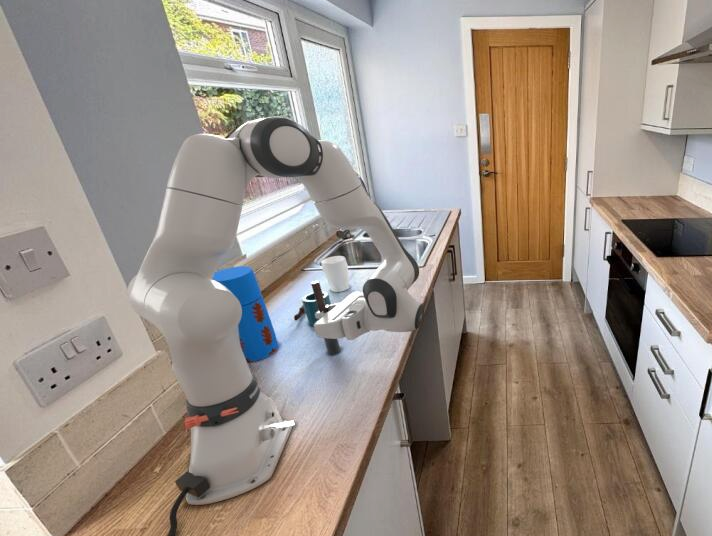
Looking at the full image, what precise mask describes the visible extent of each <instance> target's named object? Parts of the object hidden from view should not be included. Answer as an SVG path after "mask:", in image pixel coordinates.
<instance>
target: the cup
mask: <svg viewBox="0 0 712 536" xmlns="http://www.w3.org/2000/svg"><path fill="white" fill-rule="evenodd" d="M320 264H321V269H322V272H323V274H324V275H323V276H324V277H325V279H326V282H327V283H328V286H329V288H330V290H331V292H332V293H333V292H334V293H339V292H344V291H347V290H348V289H349V288H350V277H349V276H350V275H349V264H348V262H347V258H346V257H345V256H343V255H332V256H328V257H325V258H323V259H322V260H321V261H320Z"/></svg>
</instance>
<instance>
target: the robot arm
mask: <svg viewBox="0 0 712 536" xmlns="http://www.w3.org/2000/svg"><path fill="white" fill-rule="evenodd" d="M254 178H267V179H284V178H295V179H297V180H298V181H299V182H300V183H301V184H302V185H303V186H304V188H306V190H307V191H306V192H307V193H308V195H309V197H310V199H311V201H312V203H313V205H314V207H315V209H316V210H317V213H318V214H319V215H320V217H321V218H322V219H323V221H324V222H325V223H326V224H327V225H329V226H330V227H333V228H335V229H338V230H342V231H352V230H363V231H364V232H365V233H366V234H367V235H368V236H369V238H370V240H371V241H372V243H373V245H374V246H375V247H376V249H377V250H378V252H379V254H380V257H381V260H380V265H379V266H378V267H377V268H376V269H375V271H373V272H372V273H371V274H370V276H369V277H368V278H367V279H366V281H365V282H364V283H363V286H362V291H353V292H351V293H350V294H349V295H348V296H346V297H345V298H344V299H343V300H341V301H339V302H336V303H333V304H331V305H326V309H327V312H328V313H324V312H323V311H317V312H316V313H315V317H316V318H317V319H319V320H318V321H317V322H316V323H315V324H314V326H313V329H314V333H315V335H316V336H317V337H318V338H322V339H324V338H330V339H338V340H339V339H344V338H345V339H346V340H347V341H354V340H356V339H357V338H359V337H361V336H363V335H364V334H367V333H370V332H371V331H372V332H379V331H386V332H390V333H409V332H414V331H415V332H416V331H417V330H418V329H419V328H420V327H421V324H422V323H423V320H424V317H425V305H424V303H422V302H421V301H418V300H416V299H415V298H414V296H412V294H410V293H409V289H410V288H411V287H412V285H414V283H415V282H416V281H417V280H418V278H419V276H420V267H419V265H418V263H417V261H416V259H415V258H414V257H413V256H412V254H411V253H410V252H409V251H408V250H407V249H406V248H405V247H404V245H403V243H402V242H401V240H400V239H399V237H398V235H397V233H396V232H395V230H394V228H393V226H392V225H391V223H390V221H389V220H388V218H387V216H386V215H385V213H384V212H383V210H382V209H381V207H380V206H379V205H378V204H376V203H375V202H374V201H372V199H371V198H370V197H369V195H368V194H367V192H366V189H365V188H364V186H363V184H362V182H361V180H360V178H359V176H358V174H357V172H356V171H355V169H354V167H353V165H352V164H351V162H350V161H349V159H348V157H347V156H346V155H345V153H344V152H343V150H342V148H340V146H338V144H336V143H335V142H333V141H330V140H323V139H319V140H318V139H317V138H316V137H314V136H313V135H312V134H311V133H310V132H309V131H308V129H306V128H305V127H304V126H303V125H301V124H300V123H298V122H296V121H295V120H293V119H291V118H287V117H284V116H268V117H260V118H259V117H257V118H254V119H252V120H249V121H247V122H245V123H242V124H240V125H238V126H237V127H235V128H234V129H233V130H231V131H230V132H229V133H228V134H227V135H226V136H225V137H222V136H219V135H215V134H210V133H209V134H208V133H198V134H197V133H196V134H193V135H190V136H188V137H187V138H186V139H185V140H183V143H182V145H181V147H180V148H179V150H178V152H177V155H176V156H175V159H174V161H173V165H172V167H171V169H170V173H169V175H168V179H167V184H166V188H165V194H164V198H163V202H162V207H161V210H160V215H159V219H158V224H157V228H156V232H155V233H154V237H153V240H152V242H151V244H150V245H149V248H148V250H147V252H146V254H145V256H144V258H143V260H142V262H141V265H140V268H139V270H138V272H137V274H135V275H134V276H133V277H132V279H131V280H130V282H129V284H128V286H127V291H126V292H127V293H126V294H127V297H128V301H129V303H130V305H131V308H132V309H133V311H134V312H135V313H136V314H137V315H138V316H139V317H141V318H142V319H143V320H145V321H147V322H149V323H150V324H152V325H153V326H154V327H156V328H157V330H158V331H160V332H161V334H162V335H163V337H164V339H165V340H166V342H167V345H168V348H169V352H170V357H171V361H172V363H171V370H172V373H173V374H174V376H175V379H176V380H177V382H178V384H179V386H180V389H181V390H182V393H183V394H184V397H185V405H186V412H187V415H188V416H187V417H186V418H185V420H184V425H185V427H186V429H188V430H189V429H190V459H189V468H188V471H186V472H184V473H183V474H181V475H180V476H179V477H178V478H177V479H176V480H174V483H175V485H176V486H177V488H178V490H179V491H181V492H180V493H179V495H178V496H177V498H176V499H175V501H174V503H173V505H172V507H171V510H170V513H169V524H170V525H169V526H170V528H169V531H168V534H167V536H175V535H176V532H177V529H178V517H177V514H178V510H179V507H180V506H181V503H182V502H183V500H184V498H185V500H186V503H187V504H188V505H193V506H202V505H209V504H214V503H219V502H221V501H224V500H228V499H231V498H235V497H237V496H240V495H242V494H245V493H248V492H249V491H252V490H254V489H256V488H258V487H259V486H261V485H263V484H264V483H266V482H267V481H268V480H270V479H271V478H272V476H273V474H274V472H275V469H276V467H277V465H278V462H279V461H280V459H281V458H280V457H281V455H282V452H283V451H284V448H285V446H286V443H287V441H288V438H289V436H290V434H291V432H292V429H293V426H295V422H294V420H285V419H283V418H282V416H281V414H280V411H279V410H278V408H277V406H276V403H275V402H274V400H273V398H272V397H270V396H268V395H266V394H264V393H263V392H261V387H260V384H259V381H258V379H257V378H256V376H255V374H254V373H253V372H252V371H251V369H250V367H249V364H248V362H247V361H246V359H245V356H244V354H243V351H242V348H241V345H240V340H239V331H238V324H239V322H240V320H241V316H242V308H241V304H240V302H239V300H238V299H237V298H236V297H235V295H234V294H233V293H232V292H231V291H230V290H229V289H227V288H226V287H225V286H224V285H222V284H221V283H219V282H216V281H214V280H213V276H214V273H215V272H217V269H218V268H219V266H220V264H221V262H222V260H223V259H224V257H225V255H226V254H227V253H229V252H230V251H231V250H232V249H233V248H234V246H235V242H236V236H237V234H238V228H239V224H240V219H241V214H242V210H243V206H244V200H245V195H246V190H247V189H248V186H249V184H250V182H251V181H252V180H253V179H254Z"/></svg>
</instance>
